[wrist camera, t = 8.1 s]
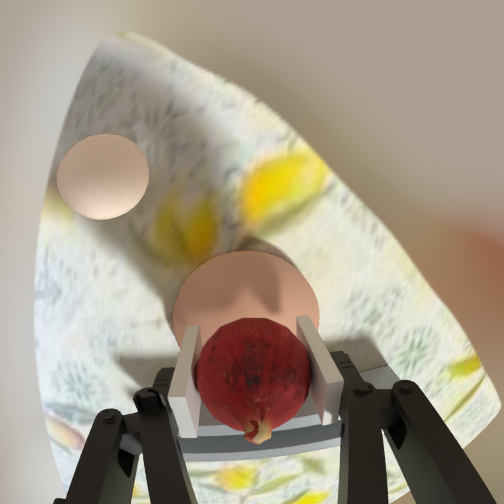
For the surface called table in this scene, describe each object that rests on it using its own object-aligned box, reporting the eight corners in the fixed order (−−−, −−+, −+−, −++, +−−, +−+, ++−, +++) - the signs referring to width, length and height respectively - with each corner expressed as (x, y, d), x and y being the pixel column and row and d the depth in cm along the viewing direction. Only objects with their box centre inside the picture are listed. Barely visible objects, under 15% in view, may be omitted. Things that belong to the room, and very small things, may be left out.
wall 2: (159, 402, 22) (150, 434, 18) (155, 392, 21) (145, 424, 18) (386, 375, 23) (405, 401, 19) (388, 365, 22) (409, 391, 19)
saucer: (187, 379, 21) (186, 386, 20) (164, 256, 19) (161, 260, 18) (313, 367, 22) (316, 374, 21) (315, 243, 19) (319, 247, 18)
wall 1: (168, 428, 22) (162, 460, 19) (165, 420, 22) (158, 452, 18) (379, 402, 24) (396, 429, 20) (382, 393, 23) (399, 420, 19)
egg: (105, 220, 18) (45, 242, 11) (90, 155, 17) (25, 146, 10) (168, 201, 18) (129, 213, 11) (152, 132, 17) (107, 106, 10)
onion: (199, 295, 17) (177, 382, 9) (299, 293, 17) (344, 375, 9) (205, 375, 18) (195, 472, 10) (292, 373, 18) (320, 466, 11)
